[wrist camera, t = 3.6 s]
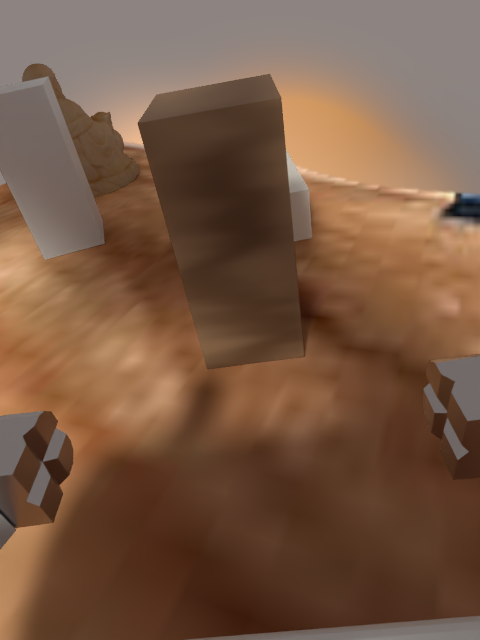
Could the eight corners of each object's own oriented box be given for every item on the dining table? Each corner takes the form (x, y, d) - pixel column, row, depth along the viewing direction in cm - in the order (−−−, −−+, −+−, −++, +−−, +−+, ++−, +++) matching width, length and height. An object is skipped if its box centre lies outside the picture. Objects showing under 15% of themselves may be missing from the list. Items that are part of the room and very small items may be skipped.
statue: (-56, 111, 38) (-12, 56, 44) (33, 227, 50) (59, 172, 55) (70, 92, 36) (99, 36, 42) (133, 218, 47) (149, 161, 53)
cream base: (191, 264, 32) (178, 213, 29) (192, 214, 39) (181, 170, 37) (312, 242, 32) (308, 189, 29) (290, 196, 39) (286, 150, 36)
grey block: (44, 259, 36) (-35, 101, 28) (48, 235, 40) (-20, 91, 32) (104, 243, 36) (42, 84, 29) (102, 221, 40) (48, 76, 33)
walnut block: (207, 369, 22) (137, 122, 15) (210, 311, 26) (156, 94, 19) (304, 356, 22) (281, 97, 15) (292, 299, 26) (269, 73, 19)
